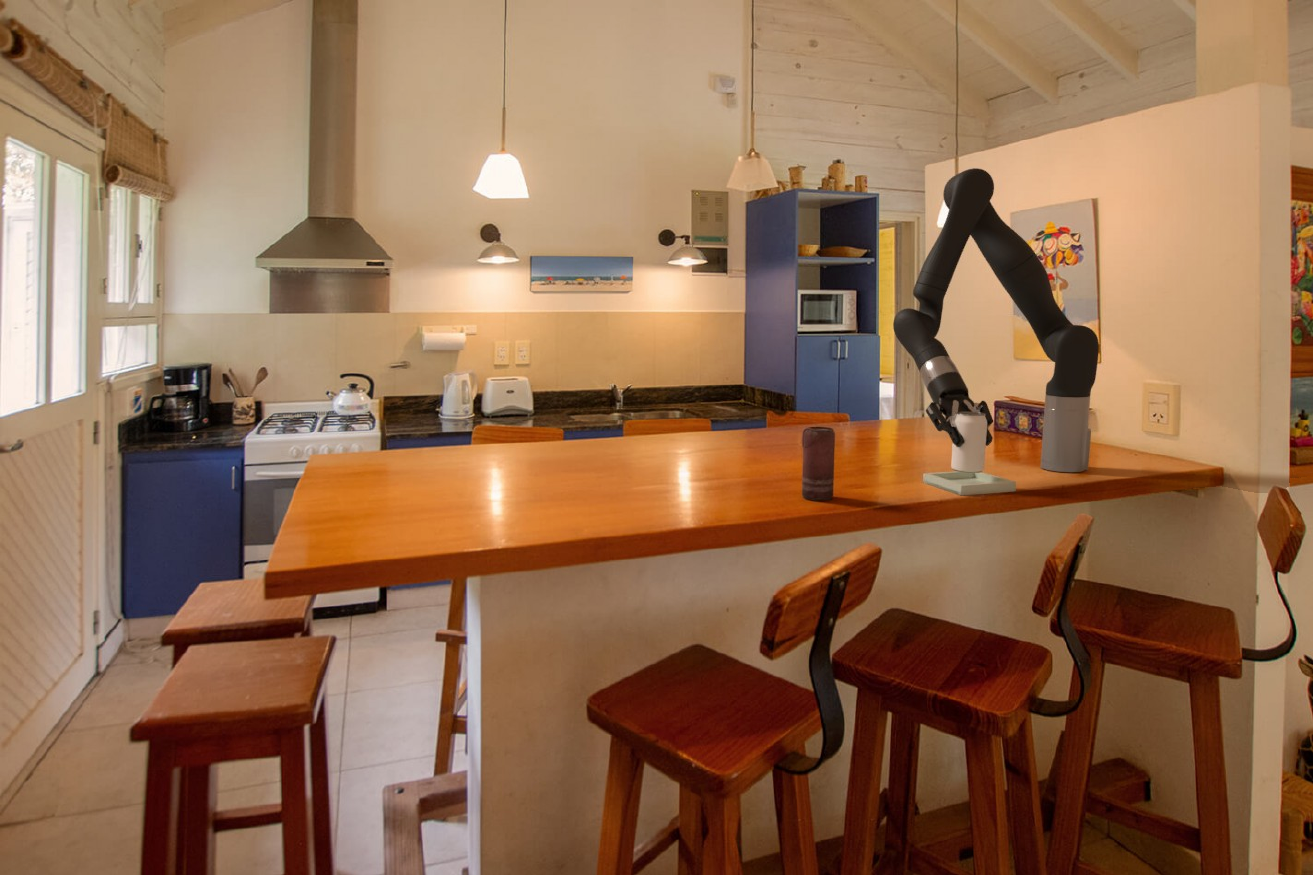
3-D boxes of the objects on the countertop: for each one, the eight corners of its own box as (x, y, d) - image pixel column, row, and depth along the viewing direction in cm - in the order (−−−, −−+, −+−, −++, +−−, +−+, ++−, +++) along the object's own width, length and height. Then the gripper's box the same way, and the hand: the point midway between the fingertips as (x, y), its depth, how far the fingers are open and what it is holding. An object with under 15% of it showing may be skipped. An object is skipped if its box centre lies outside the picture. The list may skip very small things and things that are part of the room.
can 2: (978, 467, 173) (982, 411, 172) (987, 473, 167) (992, 415, 165) (947, 466, 174) (951, 411, 172) (955, 472, 168) (959, 415, 166)
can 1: (797, 494, 164) (798, 426, 162) (828, 494, 165) (829, 425, 163) (805, 501, 158) (806, 430, 156) (837, 501, 159) (839, 430, 157)
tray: (974, 478, 179) (975, 470, 179) (1015, 491, 167) (1016, 481, 166) (922, 482, 176) (923, 473, 175) (960, 495, 163) (961, 485, 163)
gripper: (922, 371, 173) (953, 434, 163) (980, 370, 177) (1014, 432, 167) (906, 393, 178) (936, 456, 169) (963, 391, 182) (995, 453, 173)
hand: (974, 444), depth 168 cm, fingers closed on can 2, 6 cm apart
